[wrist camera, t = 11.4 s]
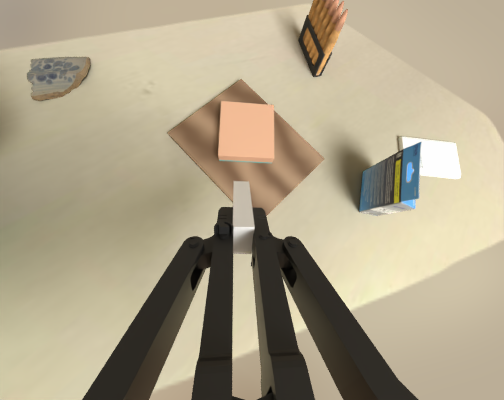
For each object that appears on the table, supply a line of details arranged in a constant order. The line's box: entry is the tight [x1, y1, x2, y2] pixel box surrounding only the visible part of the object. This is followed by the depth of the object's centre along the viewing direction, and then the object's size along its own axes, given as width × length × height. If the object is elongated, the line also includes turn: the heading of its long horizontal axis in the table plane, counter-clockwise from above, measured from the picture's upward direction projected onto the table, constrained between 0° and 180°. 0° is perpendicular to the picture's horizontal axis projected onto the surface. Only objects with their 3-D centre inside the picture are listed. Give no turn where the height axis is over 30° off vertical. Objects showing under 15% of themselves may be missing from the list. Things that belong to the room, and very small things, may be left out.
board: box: [168, 79, 324, 216], centre depth 36 cm, size 19×24×1 cm
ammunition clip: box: [299, 0, 348, 77], centre depth 37 cm, size 11×2×12 cm, turn 16°
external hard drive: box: [398, 136, 461, 179], centre depth 39 cm, size 2×8×12 cm
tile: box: [218, 101, 274, 163], centre depth 35 cm, size 2×10×11 cm
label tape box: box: [359, 141, 422, 216], centre depth 31 cm, size 9×4×12 cm, turn 167°
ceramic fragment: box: [27, 57, 90, 101], centre depth 35 cm, size 11×3×10 cm
